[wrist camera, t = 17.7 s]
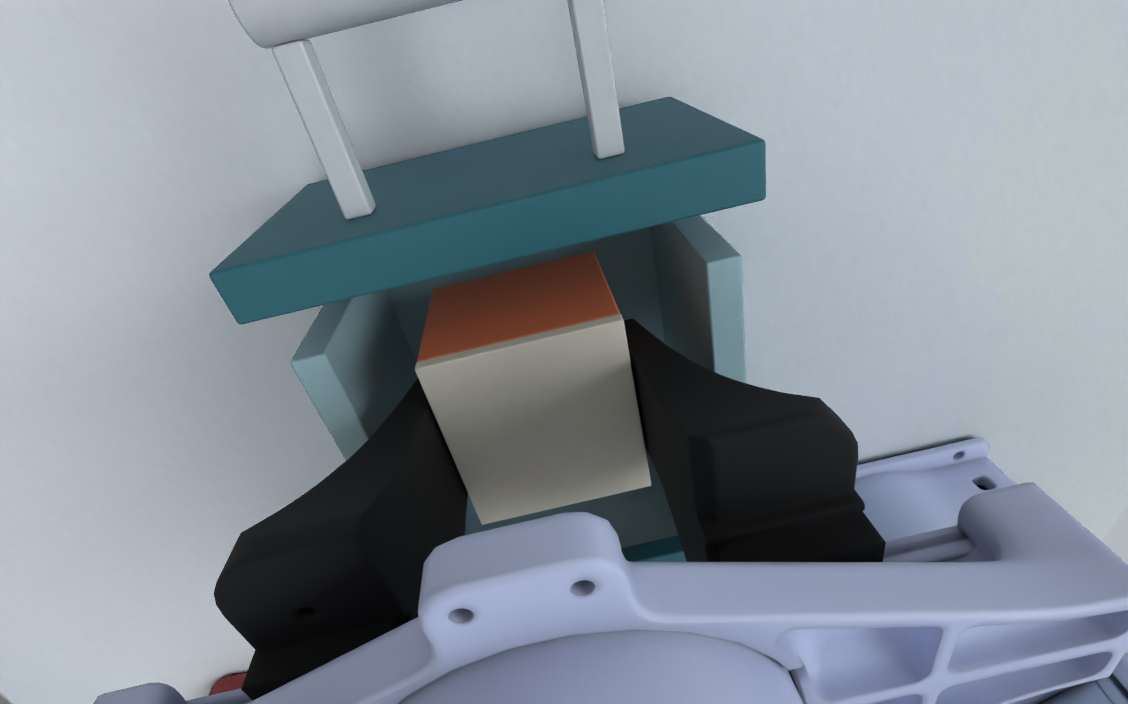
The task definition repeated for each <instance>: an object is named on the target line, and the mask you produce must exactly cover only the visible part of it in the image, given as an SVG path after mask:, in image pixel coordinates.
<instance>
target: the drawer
mask: <svg viewBox="0 0 1128 704" xmlns="http://www.w3.org/2000/svg"><path fill="white" fill-rule="evenodd" d="M228 1H229V3H230V6H231V8H232V10H233V12H234V14H235V16H236V17H237V19H238V21H239V23H240V24H241V26H242V27H243V29H244V30H245V32H246V33H247V34H248V36H249V37H250V38H251V39H252V40H253V41H254V42H255V43H256V44H257V45H258V46H260V47H262V48H267V49H268V48H272V47H273V48H272V52H273V55H274V57H275V59H276V61H277V64H278V66H279V68H280V71H281V73H282V75H283V78H284V80H285V82H286V84H287V87H288V89H289V91H290V94H291V96H292V98H293V100H294V103H295V105H296V107H297V110H298V112H299V114H300V116H301V119H302V121H303V123H304V126H305V128H306V130H307V133H308V135H309V137H310V139H311V142H312V144H313V146H314V149H315V151H316V153H317V155H318V158H319V160H320V162H321V165H322V167H323V169H324V171H325V174H326V176H327V178H328V180H324V181H319V182H315V183H311V184H308V185H306V186H305V187H304V188H303V189H302V190H301V191H300V192H299V193H298V194H296V195H295V196H294V197H293V198H292V199H291V200H290V201H289V202H288V203H286V204H285V205H284V206H283V207H282V208H281V209H280V210H279V211H278V212H277V213H275V214H274V215H273V216H272V217H271V218H270V219H269V220H268V221H267V222H265V223H264V224H263V225H262V226H261V227H260V228H259V229H258V230H257V231H256V232H254V233H253V234H252V235H251V236H250V237H249V238H248V239H247V240H246V241H244V242H243V243H242V244H241V245H240V246H239V247H238V248H237V249H236V250H234V251H233V252H232V253H231V254H230V255H229V256H228V257H227V258H226V259H225V260H223V261H222V262H221V263H220V264H219V265H218V266H217V267H216V268H215V269H213V270H212V271H211V272H210V273H209V276H210V279H211V280H212V282H213V284H214V285H215V287H216V288H217V290H218V292H219V293H220V295H221V297H222V298H223V300H224V302H225V303H226V305H227V306H228V308H229V310H230V311H231V313H232V315H233V316H234V318H235V320H236V321H237V323H239V324H245V323H250V322H254V321H258V320H262V319H266V318H271V317H275V316H279V315H283V314H287V313H292V312H296V311H300V310H304V309H308V308H312V307H317V306H321V305H324V306H323V307H322V309H321V311H320V312H319V314H318V316H317V318H316V319H315V321H314V323H313V324H312V326H311V328H310V329H309V331H308V333H307V334H306V336H305V338H304V340H303V341H302V343H301V345H300V346H299V348H298V350H297V351H296V353H295V355H294V357H293V358H292V360H291V362H290V363H291V366H292V367H293V369H294V371H295V373H296V374H297V376H298V378H299V380H300V381H301V383H302V385H303V386H304V388H305V390H306V392H307V393H308V395H309V397H310V399H311V400H312V402H313V404H314V406H315V407H316V409H317V411H318V412H319V414H320V416H321V418H322V419H323V421H324V423H325V425H326V426H327V428H328V430H329V431H330V433H331V435H332V437H333V438H334V440H335V442H336V444H337V445H338V447H339V449H340V451H341V452H342V454H343V456H344V457H345V459H346V461H347V460H348V459H349V458H350V457H351V456H352V455H353V454H354V453H355V452H356V451H357V450H358V449H359V448H360V447H361V446H362V445H363V444H364V443H365V442H366V441H367V440H368V439H369V438H370V437H371V436H372V435H373V434H374V433H375V432H376V430H377V429H378V428H379V427H380V426H381V425H382V423H383V422H384V421H385V420H386V419H387V417H388V416H389V415H390V414H391V413H392V412H393V410H394V409H395V408H396V406H397V405H398V404H399V403H400V401H401V400H402V399H403V397H404V396H405V395H406V393H407V392H408V391H409V389H410V388H411V387H412V385H413V384H414V382H415V381H416V380H417V378H418V376H417V374H416V372H415V366H416V363H417V359H418V355H419V350H420V346H421V341H422V337H423V332H424V328H425V323H426V318H427V314H428V309H429V305H430V300H431V296H432V291H433V289H436V288H440V287H444V286H449V285H453V284H457V283H461V282H465V281H470V280H474V279H478V278H482V277H486V276H491V275H495V274H499V273H503V272H507V271H512V270H516V269H520V268H524V267H528V266H532V265H537V264H541V263H545V262H549V261H553V260H558V259H562V258H566V257H570V256H574V255H579V254H583V253H587V252H591V251H593V252H594V253H595V255H596V257H597V260H598V262H599V264H600V267H601V269H602V271H603V274H604V276H605V278H606V281H607V283H608V285H609V288H610V290H611V293H612V295H613V297H614V300H615V302H616V304H617V307H618V309H619V311H620V314H621V315H622V318H623V320H628V319H632V318H633V319H634V320H636V321H637V322H638V323H640V324H641V325H642V326H643V327H644V328H646V329H647V330H648V331H649V332H650V333H652V334H653V335H654V336H655V337H657V338H658V339H659V340H661V341H662V342H663V343H665V344H666V345H668V346H669V347H671V348H672V349H674V350H675V351H676V352H678V353H680V354H681V355H683V356H684V357H686V358H688V359H689V360H691V361H693V362H695V363H697V364H699V365H700V366H703V367H705V368H707V369H709V370H711V371H714V372H716V373H718V374H720V375H723V376H725V377H728V378H731V379H734V380H737V381H740V382H743V383H746V370H745V340H744V309H743V279H742V256H741V255H740V254H739V253H738V252H737V251H736V250H735V249H734V248H733V247H732V246H731V245H730V244H729V243H728V242H727V241H726V240H725V239H724V238H723V237H722V236H721V235H720V234H719V233H718V232H717V231H716V230H715V229H714V228H713V227H712V226H711V225H709V224H708V223H707V222H706V221H705V220H704V219H703V218H702V217H701V216H700V215H702V214H706V213H711V212H715V211H719V210H723V209H727V208H732V207H736V206H740V205H744V204H748V203H753V202H757V201H761V200H763V199H765V197H766V170H765V141H764V140H763V139H761V138H759V137H757V136H755V135H752V134H750V133H748V132H746V131H744V130H742V129H739V128H737V127H735V126H733V125H731V124H728V123H726V122H724V121H722V120H720V119H718V118H715V117H713V116H711V115H709V114H707V113H705V112H702V111H700V110H698V109H696V108H694V107H692V106H689V105H687V104H685V103H683V102H681V101H679V100H676V99H674V98H672V97H666V98H662V99H657V100H653V101H649V102H645V103H641V104H637V105H633V106H629V107H625V108H620V109H619V107H618V100H617V92H616V85H615V78H614V71H613V64H612V57H611V50H610V43H609V36H608V29H607V22H606V15H605V7H604V0H567V1H568V6H569V12H570V18H571V24H572V30H573V36H574V42H575V47H576V53H577V59H578V65H579V71H580V77H581V82H582V88H583V94H584V100H585V106H586V112H587V117H583V118H579V119H575V120H571V121H567V122H563V123H559V124H554V125H550V126H546V127H542V128H538V129H534V130H530V131H526V132H521V133H517V134H513V135H509V136H505V137H501V138H497V139H493V140H488V141H484V142H480V143H476V144H472V145H468V146H464V147H460V148H456V149H451V150H447V151H443V152H439V153H435V154H431V155H427V156H423V157H418V158H414V159H410V160H406V161H402V162H398V163H394V164H390V165H385V166H381V167H377V168H373V169H369V170H365V171H362V169H361V166H360V164H359V161H358V159H357V156H356V154H355V151H354V149H353V146H352V144H351V141H350V139H349V136H348V134H347V131H346V129H345V126H344V124H343V121H342V119H341V116H340V114H339V111H338V109H337V106H336V104H335V101H334V99H333V96H332V94H331V91H330V89H329V86H328V84H327V81H326V79H325V76H324V74H323V71H322V69H321V66H320V64H319V61H318V59H317V56H316V54H315V51H314V49H313V46H312V44H311V42H310V41H309V40H304V39H308V38H312V37H316V36H320V35H324V34H328V33H332V32H337V31H341V30H345V29H349V28H353V27H357V26H361V25H365V24H369V23H373V22H377V21H381V20H385V19H389V18H393V17H397V16H401V15H405V14H409V13H413V12H417V11H421V10H425V9H430V8H434V7H438V6H442V5H446V4H450V3H454V2H458V1H462V0H228ZM645 449H646V447H645ZM646 455H647V461H648V467H649V473H650V479H651V486H648V487H644V488H639V489H635V490H631V491H626V492H622V493H618V494H613V495H609V496H605V497H600V498H596V499H592V500H588V501H583V502H579V503H575V504H570V505H566V506H562V507H557V508H553V509H549V510H544V511H540V512H536V513H531V514H527V515H523V516H518V517H514V518H510V519H505V520H501V521H497V522H492V523H488V524H484V525H482V524H481V522H480V520H479V517H478V515H477V513H476V510H475V508H474V506H473V503H472V501H471V499H470V497H469V494H468V499H467V509H466V522H465V535H469V534H473V533H478V532H482V531H486V530H491V529H495V528H499V527H504V526H508V525H512V524H517V523H521V522H525V521H530V520H534V519H538V518H543V517H547V516H551V515H556V514H560V513H572V512H588V513H590V514H593V515H596V516H598V517H601V518H603V519H606V520H608V521H609V523H610V524H611V526H612V527H613V528H614V530H615V531H616V533H617V534H618V538H619V542H620V546H621V548H625V547H629V546H634V545H638V544H642V543H647V542H651V541H656V540H660V539H664V538H669V537H673V536H677V535H678V532H677V529H676V526H675V523H674V520H673V517H672V513H671V510H670V507H669V504H668V501H667V498H666V495H665V492H664V489H663V486H662V483H661V481H660V478H659V476H658V473H657V471H656V469H655V467H654V464H653V462H652V460H651V458H650V456H649V453H648V451H647V449H646Z"/></svg>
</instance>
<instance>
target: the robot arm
mask: <svg viewBox="0 0 1128 704" xmlns="http://www.w3.org/2000/svg"><path fill="white" fill-rule="evenodd" d="M624 325H625V331H626V337H627V343H628V349H629V355H630V361H631V367H632V372H633V378H634V384H635V390H636V396H637V402H638V408H639V414H640V420H641V426H642V431H643V437H644V443H645V447H646V449H647V451H648V453H649V456H650V458H651V460H652V462H653V464H654V467H655V469H656V471H657V473H658V476H659V478H660V481H661V483H662V486H663V489H664V492H665V495H666V498H667V501H668V504H669V507H670V510H671V513H672V517H673V520H674V523H675V526H676V529H677V532H678V536H679V539H680V542H681V545H682V548H683V551H684V555H685V558H686V561H687V562H629V561H627V560H626V559H625V557H624V555H623V553H622V550H621V546H620V542H619V538H618V534H617V533H616V531H615V530H614V528H613V527H612V526H611V524H610V523H609V521H608V520H606V519H603V518H601V517H598V516H596V515H593V514H590V513H588V512H572V513H560V514H556V515H551V516H547V517H543V518H538V519H534V520H530V521H525V522H521V523H517V524H512V525H508V526H504V527H499V528H495V529H491V530H486V531H482V532H478V533H473V534H469V535H465V522H466V509H467V499H468V492H467V490H466V487H465V485H464V483H463V480H462V478H461V476H460V473H459V471H458V469H457V467H456V464H455V462H454V460H453V457H452V455H451V453H450V450H449V448H448V446H447V443H446V441H445V439H444V436H443V434H442V432H441V430H440V427H439V425H438V423H437V420H436V418H435V416H434V413H433V411H432V409H431V406H430V404H429V402H428V399H427V397H426V395H425V393H424V390H423V388H422V386H421V383H420V381H419V379H418V378H417V380H416V381H415V382H414V384H413V385H412V387H411V388H410V389H409V391H408V392H407V393H406V395H405V396H404V397H403V399H402V400H401V401H400V403H399V404H398V405H397V406H396V408H395V409H394V410H393V412H392V413H391V414H390V415H389V416H388V417H387V419H386V420H385V421H384V422H383V423H382V425H381V426H380V427H379V428H378V429H377V430H376V432H375V433H374V434H373V435H372V436H371V437H370V438H369V439H368V440H367V441H366V442H365V443H364V444H363V445H362V446H361V447H360V448H359V449H358V450H357V451H356V452H355V453H354V454H353V455H352V456H351V457H350V458H349V459H348V460H347V461H346V462H344V463H343V464H342V465H341V466H340V467H338V468H337V469H336V470H335V471H333V472H332V473H331V474H330V475H329V476H327V477H326V478H325V479H324V480H323V481H321V482H320V483H319V484H317V485H316V486H315V487H313V488H312V489H311V490H309V491H308V492H306V493H305V494H304V495H302V496H301V497H299V498H298V499H296V500H295V501H293V502H292V503H290V504H289V505H287V506H286V507H284V508H283V509H281V510H280V511H278V512H276V513H274V514H273V515H271V516H269V517H268V518H266V519H264V520H263V521H261V522H259V523H257V524H256V525H254V526H252V527H251V528H249V529H247V530H245V531H243V532H241V534H240V536H239V538H238V540H237V542H236V544H235V546H234V548H233V550H232V552H231V554H230V556H229V558H228V560H227V562H226V564H225V566H224V568H223V570H222V572H221V574H220V576H219V579H218V581H217V583H216V587H215V591H214V597H215V601H216V605H217V607H218V608H219V609H220V611H221V612H222V614H223V615H224V617H225V618H226V619H227V620H228V621H229V622H230V623H231V624H232V625H233V626H234V627H235V628H236V630H237V631H238V632H239V633H240V634H241V635H242V636H243V637H244V638H245V639H246V640H247V641H248V642H249V643H250V644H251V645H252V646H253V647H254V649H255V653H254V656H253V658H252V661H251V664H250V666H249V669H248V672H247V674H246V677H245V680H244V682H243V685H242V688H240V689H236V690H232V691H227V692H223V693H218V694H214V695H210V696H205V697H201V698H196V699H192V700H188V701H185V700H184V698H183V697H182V696H181V694H180V693H179V692H178V691H177V690H176V689H174V688H173V687H171V686H169V685H167V684H162V683H148V684H143V685H139V686H135V687H130V688H126V689H122V690H117V691H113V692H108V693H104V694H102V695H100V696H98V697H97V699H96V700H95V702H94V704H1128V564H1127V563H1126V562H1124V561H1123V560H1122V559H1121V558H1120V557H1119V556H1118V555H1116V554H1115V553H1114V552H1113V551H1112V550H1111V549H1109V548H1108V547H1107V546H1106V545H1105V544H1104V543H1103V542H1101V541H1100V540H1099V539H1098V538H1097V537H1096V536H1095V535H1093V534H1092V533H1091V532H1090V531H1089V530H1088V529H1086V528H1085V527H1084V526H1083V525H1082V524H1081V523H1080V522H1078V521H1077V520H1076V519H1075V518H1074V517H1073V516H1071V515H1070V514H1069V513H1068V512H1067V511H1066V510H1065V509H1063V508H1062V507H1061V506H1060V505H1059V504H1058V503H1056V502H1055V501H1054V500H1053V499H1052V498H1051V497H1050V496H1048V495H1047V494H1046V493H1045V492H1044V491H1043V490H1041V489H1040V488H1039V487H1038V486H1037V485H1036V484H1034V483H1022V484H1018V485H1017V484H1016V483H1015V482H1014V481H1013V480H1012V479H1011V478H1009V477H1008V476H1007V475H1006V474H1005V473H1004V472H1003V471H1002V470H1001V469H999V468H998V467H997V466H996V465H995V464H994V463H993V462H992V461H991V460H989V459H988V458H987V455H988V451H989V448H990V445H989V443H988V442H987V441H985V440H984V439H983V438H974V439H969V440H965V441H960V442H956V443H952V444H947V445H943V446H939V447H934V448H930V449H926V450H921V451H917V452H913V453H908V454H904V455H899V456H895V457H891V458H886V459H882V460H878V461H873V462H869V463H865V464H860V465H857V462H858V443H857V441H856V439H855V437H854V435H853V433H852V431H851V430H850V429H849V428H848V427H847V426H846V424H845V423H844V422H843V421H842V420H841V419H840V418H839V417H838V416H837V415H836V413H835V412H834V411H833V410H831V409H830V408H829V407H828V406H827V405H826V404H825V403H824V402H823V401H822V400H821V399H820V398H815V397H808V396H801V395H794V394H788V393H782V392H777V391H773V390H768V389H764V388H760V387H756V386H753V385H749V384H746V383H743V382H740V381H737V380H734V379H731V378H728V377H725V376H723V375H720V374H718V373H716V372H714V371H711V370H709V369H707V368H705V367H703V366H700V365H699V364H697V363H695V362H693V361H691V360H689V359H688V358H686V357H684V356H683V355H681V354H680V353H678V352H676V351H675V350H674V349H672V348H671V347H669V346H668V345H666V344H665V343H663V342H662V341H661V340H659V339H658V338H657V337H655V336H654V335H653V334H652V333H650V332H649V331H648V330H647V329H646V328H644V327H643V326H642V325H641V324H640V323H638V322H637V321H636V320H634V319H633V318H632V319H628V320H624Z"/></svg>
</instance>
